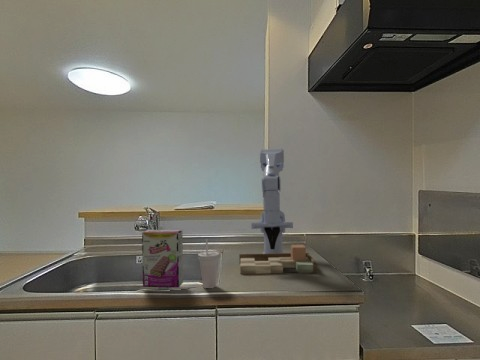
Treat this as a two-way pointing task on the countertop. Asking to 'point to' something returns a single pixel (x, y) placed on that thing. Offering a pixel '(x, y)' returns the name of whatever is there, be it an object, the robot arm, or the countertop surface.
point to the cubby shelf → (275, 264)
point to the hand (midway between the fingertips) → (272, 248)
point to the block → (298, 252)
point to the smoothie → (208, 267)
